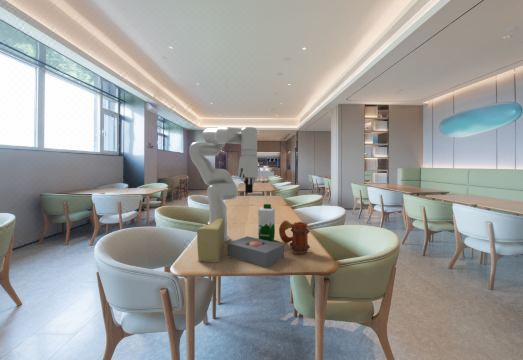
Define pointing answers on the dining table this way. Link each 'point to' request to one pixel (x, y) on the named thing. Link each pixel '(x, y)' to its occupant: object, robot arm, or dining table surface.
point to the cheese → (210, 241)
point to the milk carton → (266, 223)
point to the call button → (255, 243)
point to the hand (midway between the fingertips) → (248, 192)
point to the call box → (256, 251)
